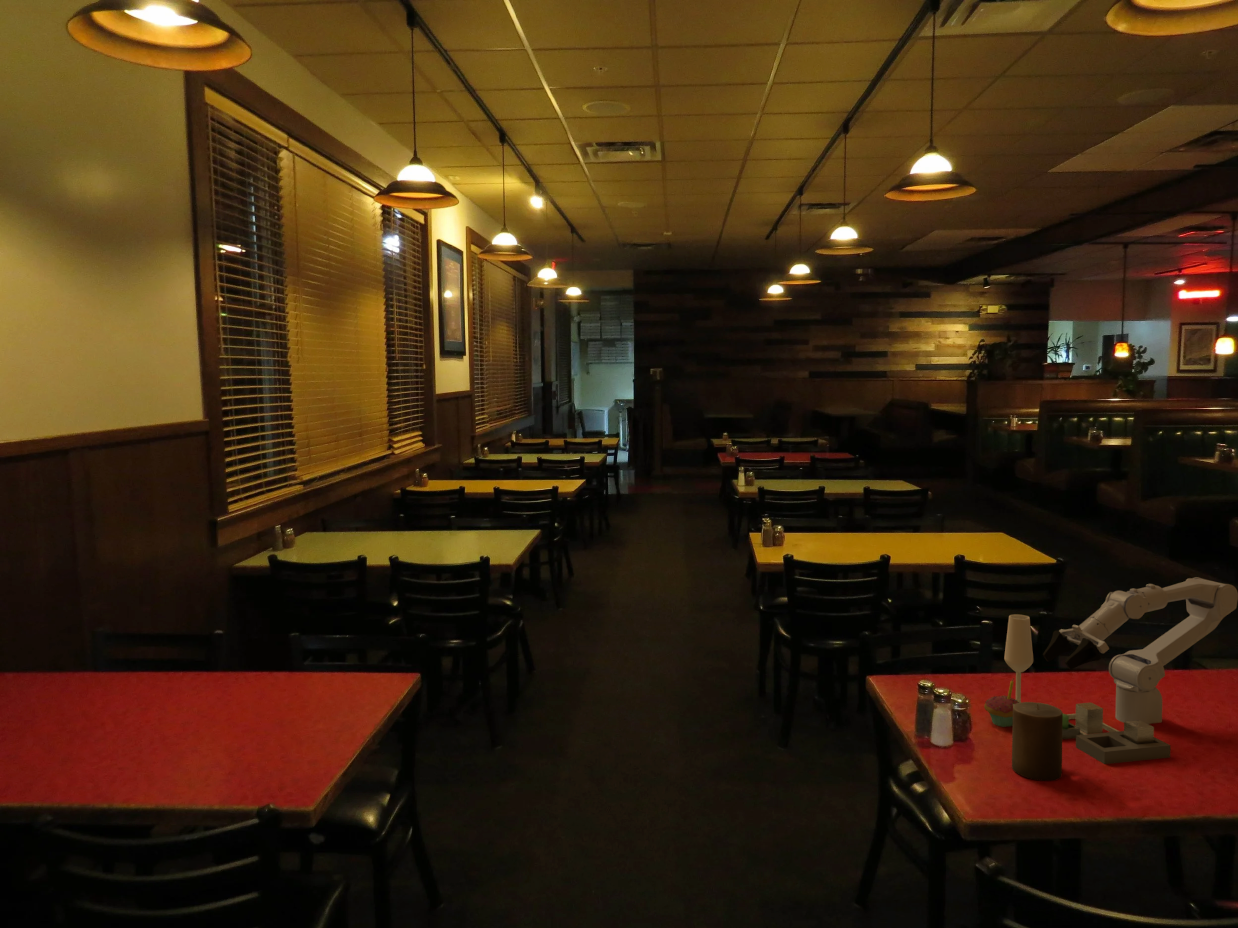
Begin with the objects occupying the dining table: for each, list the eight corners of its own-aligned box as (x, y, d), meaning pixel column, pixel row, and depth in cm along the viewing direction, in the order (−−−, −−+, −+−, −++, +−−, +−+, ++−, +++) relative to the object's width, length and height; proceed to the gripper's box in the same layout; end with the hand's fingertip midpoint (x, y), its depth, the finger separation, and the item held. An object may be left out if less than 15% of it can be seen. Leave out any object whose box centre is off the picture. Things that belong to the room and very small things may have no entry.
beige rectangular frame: (1083, 719, 210) (1084, 712, 210) (1126, 742, 196) (1126, 734, 196) (1050, 722, 209) (1050, 715, 208) (1090, 745, 195) (1091, 738, 195)
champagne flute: (1024, 703, 222) (1025, 613, 220) (1037, 713, 215) (1039, 619, 213) (998, 704, 221) (999, 613, 219) (1011, 714, 215) (1012, 620, 213)
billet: (1090, 726, 204) (1091, 702, 204) (1102, 733, 200) (1103, 708, 200) (1075, 728, 204) (1075, 703, 203) (1087, 734, 200) (1087, 709, 199)
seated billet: (1139, 745, 192) (1140, 720, 192) (1153, 753, 188) (1153, 726, 188) (1123, 747, 192) (1124, 721, 191) (1136, 754, 188) (1137, 728, 187)
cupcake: (1020, 720, 210) (1021, 673, 209) (1024, 734, 202) (1025, 684, 201) (982, 717, 213) (983, 670, 212) (985, 730, 205) (986, 681, 204)
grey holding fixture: (1138, 744, 195) (1139, 729, 195) (1170, 760, 186) (1170, 745, 186) (1075, 750, 193) (1075, 735, 192) (1104, 767, 184) (1104, 751, 183)
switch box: (1062, 730, 204) (1062, 718, 203) (1079, 740, 198) (1080, 728, 197) (1039, 732, 203) (1039, 720, 202) (1056, 742, 197) (1056, 730, 197)
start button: (1061, 726, 202) (1061, 711, 202) (1071, 732, 199) (1072, 717, 198) (1047, 727, 202) (1047, 713, 201) (1057, 733, 198) (1058, 718, 198)
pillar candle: (1059, 785, 176) (1061, 714, 175) (1008, 774, 181) (1009, 705, 180) (1063, 767, 184) (1065, 700, 183) (1014, 758, 190) (1015, 692, 188)
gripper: (1068, 608, 210) (1027, 641, 208) (1112, 619, 196) (1069, 655, 194) (1082, 630, 211) (1042, 664, 209) (1127, 644, 197) (1084, 680, 195)
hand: (1056, 661), depth 201 cm, fingers open, 7 cm apart
